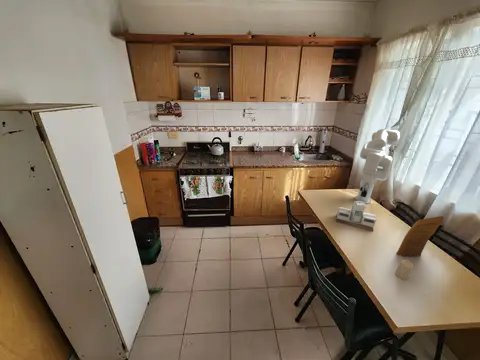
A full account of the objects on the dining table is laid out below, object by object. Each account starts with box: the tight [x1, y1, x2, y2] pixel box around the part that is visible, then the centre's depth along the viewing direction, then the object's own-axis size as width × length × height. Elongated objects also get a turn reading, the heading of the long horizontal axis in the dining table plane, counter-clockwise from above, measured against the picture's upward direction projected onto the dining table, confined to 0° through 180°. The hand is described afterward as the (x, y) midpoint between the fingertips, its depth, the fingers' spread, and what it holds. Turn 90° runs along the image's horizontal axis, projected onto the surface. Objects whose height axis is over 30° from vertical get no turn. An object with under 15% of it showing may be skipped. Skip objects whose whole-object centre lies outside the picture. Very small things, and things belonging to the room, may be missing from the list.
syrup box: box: [350, 200, 366, 222], centre depth 151 cm, size 6×6×14 cm
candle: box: [395, 259, 415, 281], centre depth 109 cm, size 6×6×10 cm
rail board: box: [335, 206, 377, 232], centre depth 153 cm, size 10×24×8 cm, turn 65°
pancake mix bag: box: [395, 215, 444, 258], centre depth 120 cm, size 7×19×28 cm, turn 95°
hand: (362, 193), depth 145 cm, fingers open, 9 cm apart
